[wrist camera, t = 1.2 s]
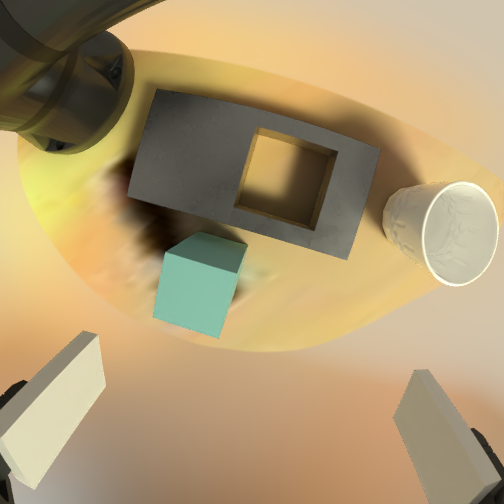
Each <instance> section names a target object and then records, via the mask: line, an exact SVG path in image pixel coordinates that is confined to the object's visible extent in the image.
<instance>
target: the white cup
mask: <svg viewBox="0 0 504 504" xmlns="http://www.w3.org/2000/svg"><path fill="white" fill-rule="evenodd" d="M382 226H383V229H384V232H385V234H386V237H387V240H388V241H389V242H390V243H391V244H392V245H393V246H394V247H395V248H396V249H398V250H399V251H400V252H401V253H402V254H404V255H405V256H406V257H408V258H409V259H410V260H411V261H413V262H414V263H415V264H417V265H418V266H420V267H421V268H423V269H424V270H425V271H427V272H428V273H430V274H431V275H432V276H434V277H435V278H436V279H438V280H439V281H440V282H442V283H444V284H447V285H450V286H462V285H466V284H468V283H470V282H472V281H473V280H475V279H477V278H478V277H479V276H480V275H481V274H482V273H483V272H484V271H485V270H486V268H487V267H488V265H489V264H490V262H491V260H492V258H493V256H494V253H495V250H496V246H497V242H498V233H499V226H498V217H497V213H496V210H495V207H494V204H493V202H492V200H491V199H490V197H489V196H488V194H487V193H486V192H485V191H484V190H483V189H482V188H481V187H479V186H478V185H476V184H474V183H472V182H468V181H453V182H438V183H429V184H421V185H416V186H412V187H406V188H400V189H399V190H398V191H397V192H395V193H394V194H393V195H392V196H390V197H389V199H388V201H387V203H386V206H385V208H384V210H383V222H382Z"/></svg>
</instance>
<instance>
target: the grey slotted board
mask: <svg viewBox="0 0 504 504" xmlns="http://www.w3.org/2000/svg"><path fill="white" fill-rule="evenodd" d="M258 134H259V135H262V136H266V137H270V138H273V139H277V140H280V141H284V142H287V143H290V144H294V145H297V146H300V147H303V148H306V149H310V150H313V151H316V152H319V153H322V154H325V155H328V156H329V160H328V163H327V166H326V170H325V173H324V177H323V180H322V184H321V187H320V190H319V194H318V197H317V200H316V204H315V207H314V210H313V213H312V217H311V220H310V223H309V226H308V225H305V224H302V223H298V222H295V221H292V220H289V219H285V218H282V217H279V216H275V215H272V214H269V213H265V212H262V211H258V210H255V209H251V208H248V207H245V206H241V205H238V203H239V199H240V196H241V192H242V189H243V185H244V182H245V178H246V175H247V171H248V168H249V164H250V161H251V158H252V154H253V151H254V148H255V144H256V141H257V137H258ZM380 150H381V149H379V148H376V147H374V146H371V145H369V144H366V143H363V142H361V141H358V140H356V139H353V138H350V137H347V136H345V135H342V134H339V133H336V132H333V131H330V130H327V129H325V128H322V127H318V126H315V125H312V124H309V123H306V122H303V121H299V120H296V119H293V118H289V117H286V116H282V115H279V114H275V113H272V112H268V111H264V110H260V109H256V108H252V107H248V106H244V105H240V104H236V103H231V102H227V101H222V100H218V99H213V98H208V97H203V96H197V95H192V94H186V93H180V92H174V91H168V90H161V89H157V90H156V93H155V96H154V99H153V102H152V105H151V108H150V111H149V115H148V118H147V121H146V124H145V128H144V131H143V134H142V138H141V141H140V145H139V149H138V152H137V156H136V160H135V164H134V168H133V172H132V176H131V180H130V184H129V188H128V193H127V197H131V198H135V199H138V200H142V201H146V202H149V203H153V204H157V205H160V206H164V207H167V208H171V209H175V210H178V211H182V212H185V213H189V214H192V215H196V216H199V217H203V218H206V219H210V220H213V221H217V222H220V223H224V224H227V225H231V226H234V227H238V228H241V229H244V230H248V231H251V232H255V233H258V234H262V235H265V236H268V237H272V238H275V239H278V240H282V241H285V242H288V243H292V244H295V245H298V246H302V247H305V248H308V249H312V250H315V251H318V252H322V253H325V254H328V255H331V256H335V257H338V258H341V259H344V260H347V259H348V256H349V253H350V251H351V248H352V245H353V242H354V239H355V236H356V233H357V229H358V226H359V223H360V220H361V217H362V214H363V210H364V207H365V204H366V201H367V197H368V194H369V190H370V187H371V183H372V180H373V176H374V173H375V169H376V165H377V162H378V158H379V154H380Z"/></svg>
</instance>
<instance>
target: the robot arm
mask: <svg viewBox="0 0 504 504" xmlns="http://www.w3.org/2000/svg"><path fill="white" fill-rule="evenodd" d="M163 1H165V0H0V130H5V131H14V132H16V133H18V134H19V135H21V136H22V137H23V138H25V139H26V140H27V141H29V142H30V143H32V144H33V145H34V146H36V147H37V148H39V149H41V150H43V151H45V152H48V153H54V154H64V155H68V154H75V153H79V152H82V151H84V150H86V149H88V148H90V147H92V146H93V145H95V144H96V143H98V142H99V141H100V140H101V139H102V138H104V137H105V136H106V135H107V134H108V133H109V132H110V130H111V129H112V128H113V127H114V126H115V124H116V123H117V121H118V120H119V118H120V117H121V115H122V114H123V112H124V110H125V108H126V106H127V103H128V101H129V98H130V96H131V92H132V88H133V83H134V62H133V58H132V55H131V53H130V51H129V49H128V48H127V46H126V45H125V44H124V43H123V42H122V41H120V40H119V39H118V38H117V37H116V36H114V35H113V34H112V33H110V32H108V31H105V30H107V29H108V28H110V27H112V26H114V25H116V24H117V23H119V22H121V21H123V20H125V19H127V18H129V17H131V16H133V15H134V14H137V13H139V12H141V11H142V10H145V9H147V8H149V7H151V6H153V5H155V4H158V3H160V2H163ZM105 387H106V383H105V377H104V372H103V365H102V359H101V352H100V345H99V337H98V334H94V333H90V332H87V331H82V332H81V333H80V334H79V335H78V336H77V337H76V338H75V339H73V340H72V341H71V342H70V343H69V344H68V345H67V346H66V347H65V348H64V349H63V350H61V352H60V353H58V354H57V355H56V356H55V357H54V358H53V359H52V360H51V361H50V362H49V363H48V364H47V365H46V366H44V367H43V368H42V369H41V370H40V371H39V372H38V373H37V374H36V375H35V376H34V377H33V378H32V379H31V380H30V381H29V382H27V381H25V380H22V381H20V382H18V383H16V384H14V385H12V386H11V387H10V388H9V389H8V390H7V391H6V392H5V393H4V395H3V394H2V395H1V396H0V504H15V503H14V499H13V494H12V488H11V482H10V479H9V477H8V474H9V473H10V471H12V472H13V474H14V475H15V477H16V478H17V480H19V481H20V482H22V483H23V484H25V485H27V486H29V487H30V488H32V489H34V490H35V488H36V487H37V485H38V484H39V482H40V481H41V479H42V478H43V476H44V475H45V473H46V471H47V470H48V468H49V467H50V466H51V464H52V462H53V461H54V460H55V458H56V457H57V455H58V453H59V452H60V450H61V449H62V448H63V446H64V445H65V443H66V442H67V440H68V439H69V437H70V436H71V434H72V433H73V432H74V430H75V429H76V427H77V426H78V424H79V423H80V422H81V420H82V419H83V417H84V416H85V414H86V413H87V411H88V410H89V408H90V407H91V406H92V405H93V403H94V402H95V400H96V399H97V398H98V396H99V394H100V393H101V392H102V391H103V389H104V388H105ZM393 419H394V421H395V423H396V425H397V428H398V430H399V432H400V435H401V437H402V439H403V441H404V443H405V446H406V448H407V450H408V453H409V455H410V458H411V460H412V462H413V465H414V467H415V469H416V472H417V474H418V477H419V479H420V482H421V484H422V486H423V489H424V492H425V494H426V497H427V499H428V502H429V504H504V467H503V465H502V464H501V462H500V461H499V459H498V457H497V456H496V454H495V453H493V450H492V448H491V447H490V446H488V442H487V441H486V439H485V438H484V436H483V435H482V434H481V433H480V432H478V431H477V430H476V429H474V428H471V429H470V428H469V426H468V425H467V424H466V422H465V421H464V419H463V418H462V416H461V415H460V413H459V412H458V410H457V409H456V407H455V406H454V405H453V403H452V402H451V400H450V399H449V398H448V396H447V395H446V393H445V392H444V391H443V389H442V388H441V386H440V385H439V383H438V382H437V381H436V380H435V378H434V377H433V375H432V374H431V372H430V371H429V370H414V371H413V374H412V376H411V379H410V381H409V383H408V386H407V388H406V390H405V393H404V395H403V397H402V399H401V401H400V404H399V406H398V408H397V410H396V412H395V414H394V416H393Z"/></svg>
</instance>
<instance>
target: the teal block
mask: <svg viewBox="0 0 504 504" xmlns="http://www.w3.org/2000/svg"><path fill="white" fill-rule="evenodd" d="M247 247H248V245H245V244H242V243H238V242H235V241H231V240H228V239H225V238H221V237H218V236H214V235H211V234H208V233H204V232H201V231H198V232H196V233H195V234H193V235H192V236H190V237H188V238H187V239H185V240H184V241H182V242H180V243H179V244H177V245H176V246H174V247H173V248H171V249H169V250H168V251H166V252H165V256H164V261H163V266H162V270H161V275H160V281H159V286H158V291H157V296H156V302H155V307H154V313H153V317H154V318H157V319H160V320H163V321H166V322H168V323H171V324H174V325H177V326H180V327H183V328H186V329H190V330H193V331H196V332H199V333H202V334H205V335H209V336H212V337H215V338H218V339H219V336H220V333H221V330H222V327H223V324H224V321H225V318H226V315H227V313H228V310H229V307H230V304H231V301H232V298H233V295H234V292H235V289H236V285H237V282H238V278H239V275H240V271H241V268H242V265H243V261H244V258H245V254H246V251H247Z"/></svg>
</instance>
